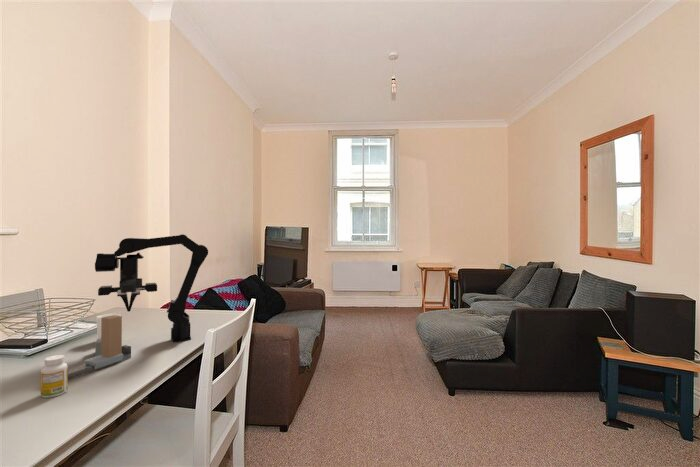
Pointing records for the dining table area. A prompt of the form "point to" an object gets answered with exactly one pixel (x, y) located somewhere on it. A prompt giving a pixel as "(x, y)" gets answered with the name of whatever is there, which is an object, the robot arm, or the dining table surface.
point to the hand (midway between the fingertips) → (128, 311)
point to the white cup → (100, 321)
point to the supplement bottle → (54, 377)
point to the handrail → (89, 368)
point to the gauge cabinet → (98, 347)
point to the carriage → (109, 342)
